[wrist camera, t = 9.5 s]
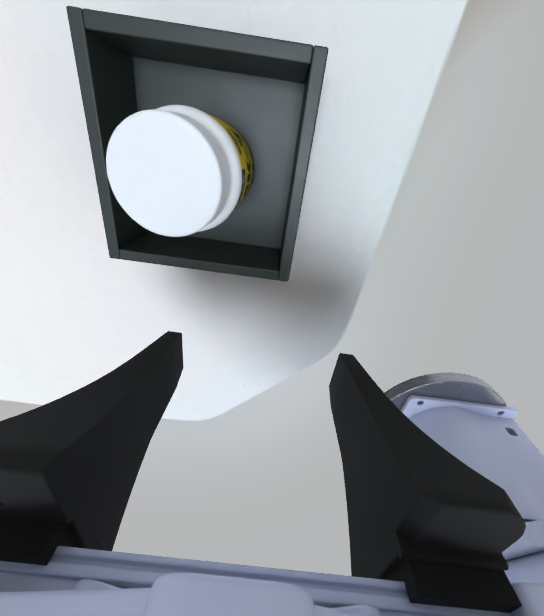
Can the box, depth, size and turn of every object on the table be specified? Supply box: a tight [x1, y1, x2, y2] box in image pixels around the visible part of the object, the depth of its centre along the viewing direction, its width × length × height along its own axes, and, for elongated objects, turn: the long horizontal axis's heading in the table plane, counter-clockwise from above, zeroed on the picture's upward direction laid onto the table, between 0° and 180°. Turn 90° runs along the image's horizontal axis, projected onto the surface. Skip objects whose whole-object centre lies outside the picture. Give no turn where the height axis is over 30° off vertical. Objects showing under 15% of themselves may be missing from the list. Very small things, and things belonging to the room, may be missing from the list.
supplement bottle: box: [106, 105, 254, 237], centre depth 13 cm, size 5×5×8 cm
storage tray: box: [66, 6, 328, 281], centre depth 15 cm, size 10×10×5 cm
